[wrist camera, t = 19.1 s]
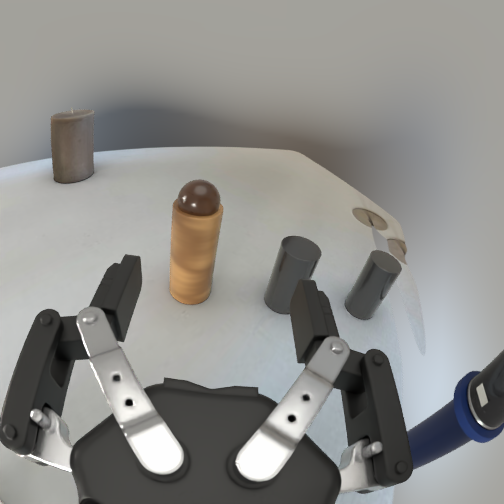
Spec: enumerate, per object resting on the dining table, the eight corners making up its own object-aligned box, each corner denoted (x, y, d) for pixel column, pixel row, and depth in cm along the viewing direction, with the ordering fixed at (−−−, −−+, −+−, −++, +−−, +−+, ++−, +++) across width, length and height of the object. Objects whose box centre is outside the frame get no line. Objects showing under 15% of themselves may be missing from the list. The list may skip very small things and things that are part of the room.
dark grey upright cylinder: (367, 297, 38) (393, 252, 33) (377, 320, 34) (407, 275, 30) (341, 294, 37) (365, 247, 33) (349, 319, 34) (378, 271, 29)
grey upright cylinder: (296, 289, 36) (316, 239, 32) (301, 315, 33) (325, 263, 28) (263, 285, 36) (279, 232, 31) (265, 312, 32) (284, 257, 28)
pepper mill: (211, 278, 35) (228, 175, 27) (208, 307, 31) (226, 196, 23) (173, 273, 34) (180, 168, 26) (166, 301, 30) (169, 188, 23)
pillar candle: (49, 185, 45) (45, 114, 37) (58, 168, 52) (56, 106, 43) (92, 181, 49) (92, 109, 41) (96, 164, 56) (97, 102, 47)
